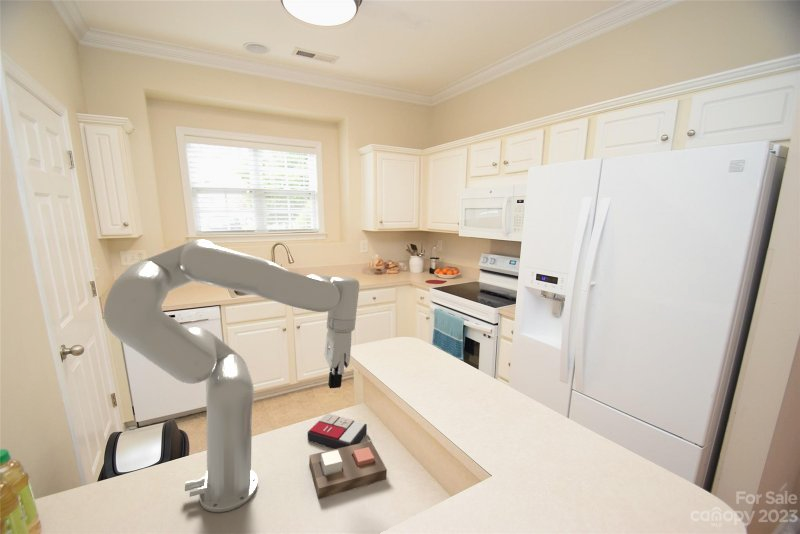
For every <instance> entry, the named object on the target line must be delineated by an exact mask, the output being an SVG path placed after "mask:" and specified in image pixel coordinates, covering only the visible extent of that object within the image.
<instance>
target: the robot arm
mask: <svg viewBox="0 0 800 534" xmlns="http://www.w3.org/2000/svg"><path fill="white" fill-rule="evenodd" d="M191 282H195V283H199V284H203V285H207V286H212V287H217V288H221V289H227V290H232V291H235V292H239V293H244V294H245V293H246V294H250V295H254V296H257V297H260V298H263V299H266V300H269V301H274V302H277V303H279V304H283V305H286V306H290V307H293V308H298V309H301V310H306V311H312V312H317V313H327V318H326V319H327V320H326V329H327V333H326V338H325V345H324V353H323V356H324V358H325V360H326V362H327V365H328V367H329V374H328V388H329V389H337V388H338V389H340V388H341V387H342V382H343V381H342V380H343V375H344V374H345V368H348V367H349V366H350V359H351V351H352V350H351V349H352V332H353V331H354V330H356V328H355V327H356V321H357V319H356V318H357V312H358V311H357V309H358V303H359V302H358V301H359V293H360V292H359V291H360V281H359V280H358V279H356V278H354V277H351V276H328V275H322V274H316V273H315V274H313V273H312V274H308V275H304V274H300V273H297V272H295V271H291V270H289V269H287V268H284V267H283V266H281V265H279V264H277V263H276V262H273V261H271V260H269V259H266V258H262V257H259V256H255V255H250V254H246V253H243V252H239V251H236V250H234V249H233V250H232V249H229V248H226V247H222V246H219V245H217V244H216V243H214V242H212V241H210V240H207V239H194V240H191V241H187V242H186V243H183V244H181V245H179V246H176V247H174V248H171V249H168V250H165V251H163V252H161V253H158V254H156V255H153V256H151V257H148V258H145V259H143V260H140V261H138V262H135V263H134V264H131V265H130V266H129V267H127V268H126V269H125V270H124V272H122V274H121V275H119V276H118V278H117V279H116V280H115V282H114V283H113V284H112V286H111V288H110V289H109V292H108V294H107V297H106V299H105V302H104V307H103V317H104V321H105V325H106V326H107V328H108V329H109V331H110V333H111V334H113V336H114V337H115V338H117V339H118V341H121V343H123V344H125V345H127V346H128V347H130V348H131V349H132V350H134V351H136V352H137V353H139V354H140V355H141V356H143V358H145V359H147V360H148V361H150V362H151V363H152V364H154V365H156V366H157V367H158V368H160V369H161V370H163V371H164V372H166V374H168V375H170V376H171V377H173V378H174V379H175V380H177V381H179V382H180V383H185V384H190V385H193V384H194V385H195V384H199V383H202V382H205V395H206V396H205V397H206V399H205V400H206V402H205V403H206V473H205V476H201V477H200V478H198V479H193V480H192V479H191V480H188V481H185V484H184V492H188V491H189V497H190V498H191V497H195V496H198V497H199V504H200V506H201V507H202V508H203V509H204V510H206V511H209V512H212V513H223V512H224V513H225V512H228V511H231V510H234V509H237V508H239V507H240V506H243V504H245V503H247V502H248V501H249V500H250V499H251V498H252V496H253V495H254V494H255V492H257V491H256V490H257V488H258V476H257V474H256V473H255V471H253V470H252V439H253V438H252V436H253V435H252V432H253V431H252V430H253V428H252V426H253V425H252V424H253V423H252V422H253V406H254V401H255V400H254V399H255V387H254V383H253V382H254V381H253V379H252V375H251V373H250V371H249V368H248V365H247V362H246V361H245V359H244V358H243V356H241V355H240V354H239V353H238V352H236V351H235V350H234V349H233V348H231V346H229V345H227V344H226V343H225V342H224V341H223V340H221V339H220V338H219V337H217V336H216V335H215V334H214V333H212V332H211V331H210V330H207V329H205V328H202V327H195V326H194V327H193V326H192V327H184V325H182V324H181V323H180V322H179V321H177V320H176V319H175V318H173V317H171V316H169V315H168V314H166V313H165V312H164V311H163V307H162V306H163V304H164V302H165V300H166V298H167V296H168V295H169V292H171V291H173V290H176V289H178V288H180V287H182V286H184V285H187V284H189V283H191Z"/></svg>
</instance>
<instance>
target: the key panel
mask: <svg viewBox="0 0 800 534" xmlns="http://www.w3.org/2000/svg"><path fill="white" fill-rule="evenodd" d="M367 447H369V449H370V451H371V453H372V455H373V456H374V463H372V464H368V465H364V466H361V467H357V466H356V463H355V461H354V459H353V451H354V450H359V449H363V448H367ZM335 450H338V452H339V454H340V457H341V459H342V472H338V473H334V474H330V475H327V476H323V474H322V470H321V454H323V453H327V452H331V451H335ZM308 460H309V461H308V462H309V463H308V465H309V469H310V474H311V477H312V481H313V484H314V489H315V492H316V496H317V500H320V499H321V500H322V499H324V498H325V499H326V498H328V497H331V496H335V495H337V494H341V493H345V492H349V491H352V490H355V489H358V488H361V487H366V486H368V485H372V484H375V483H379V482H382V481H385V480H387V472H388V469H387V467H386V465H385V464H384V462H383V459H382V458H381V456H380V454H379V452H378V451H377V449H376V447H375V445H374V443H373V441H372V440H368V441H365V442H360V444H355V445H351V446H347V447H342V448H338V449H329V450H325V451H321V452H317V453H312V454H309V459H308Z"/></svg>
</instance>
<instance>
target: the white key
mask: <svg viewBox="0 0 800 534" xmlns="http://www.w3.org/2000/svg"><path fill="white" fill-rule="evenodd" d="M321 470H322V474H323V476H327V475H330V474H334V473H338V472H342V459H341V457H340V454H339V452H338V450H335V451H331V452H327V453H323V454H321Z"/></svg>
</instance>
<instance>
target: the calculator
mask: <svg viewBox="0 0 800 534" xmlns="http://www.w3.org/2000/svg"><path fill="white" fill-rule="evenodd" d="M367 428H368V427H367V423H364V422H361V421H357V420H354V419H351V418H349V417H348V418H347V417H344V416H339V415H336V414H332V413H328V412H327V413H326V414H325V415H324V416H323V417H322V418H320V420H318V422H316V423H314V425H313V426H312V427H311V428H310V429H309V430H308V431H307V441H309V442H312V443H314V444H317V445H319V446H323V447H326V448H330V449H332V450H334V449H338V448H342V447H347V446H351V445H355V444H360V443H362V441H363V439H364V438H365V437H366V435H367V433H368V432H367V430H368V429H367Z"/></svg>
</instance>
